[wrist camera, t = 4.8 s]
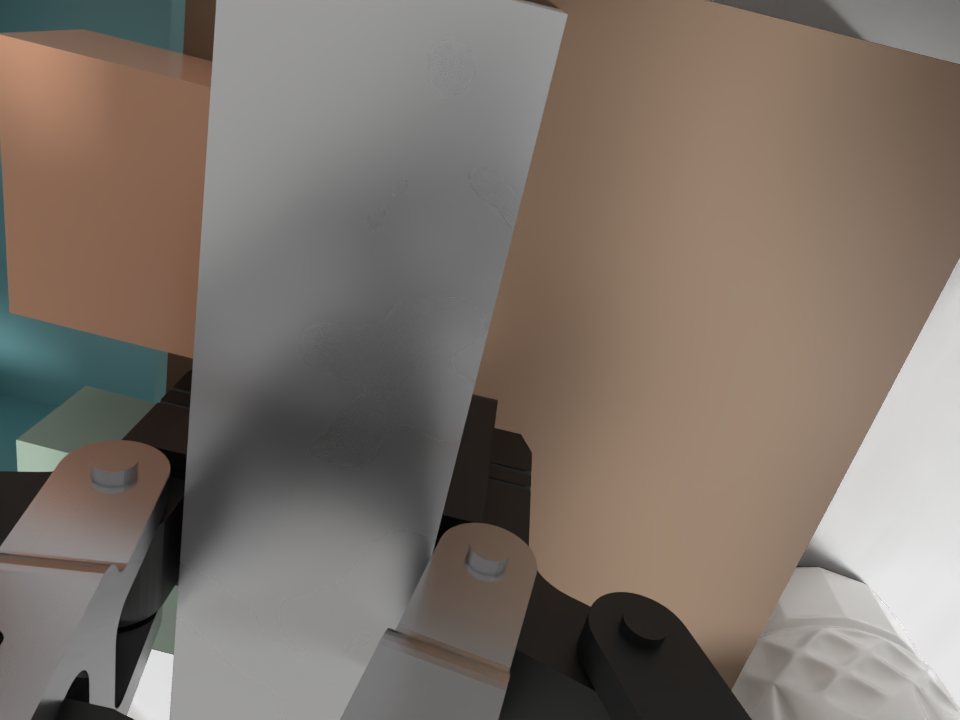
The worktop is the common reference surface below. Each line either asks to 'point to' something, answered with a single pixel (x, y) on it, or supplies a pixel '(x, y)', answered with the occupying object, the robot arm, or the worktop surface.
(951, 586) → the worktop surface
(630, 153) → the brown wooden box
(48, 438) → the sage tile
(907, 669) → the white cup
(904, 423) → the worktop surface
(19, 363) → the teal box
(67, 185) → the terracotta tile
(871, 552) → the worktop surface
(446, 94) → the steel bar
